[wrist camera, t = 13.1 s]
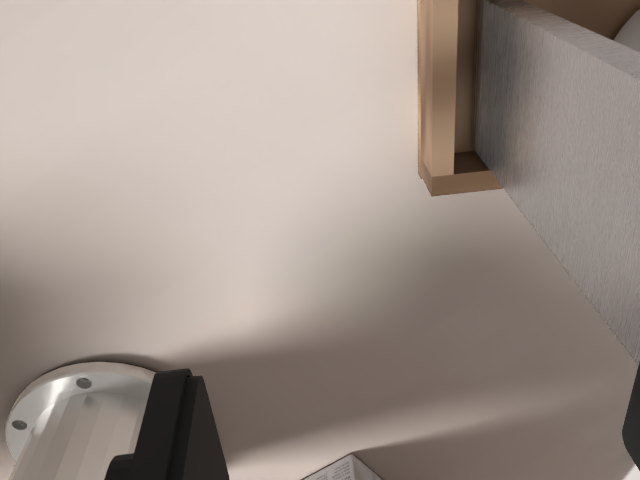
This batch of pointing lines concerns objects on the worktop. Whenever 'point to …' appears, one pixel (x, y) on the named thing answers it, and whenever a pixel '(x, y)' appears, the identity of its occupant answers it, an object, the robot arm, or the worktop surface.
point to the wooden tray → (457, 83)
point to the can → (630, 33)
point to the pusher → (566, 146)
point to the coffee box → (345, 471)
